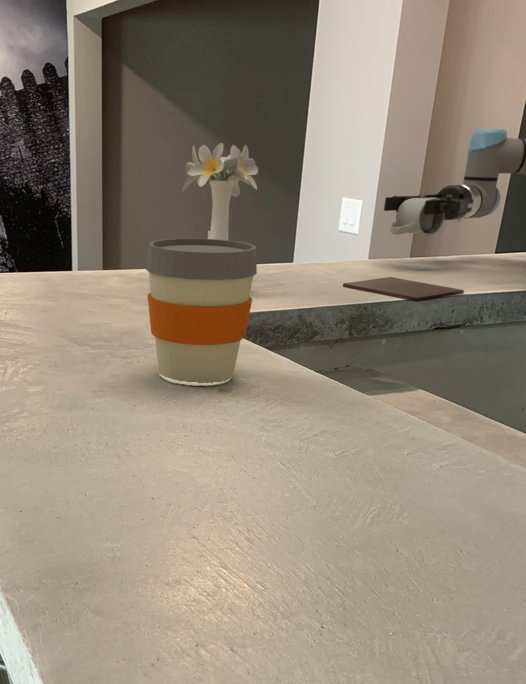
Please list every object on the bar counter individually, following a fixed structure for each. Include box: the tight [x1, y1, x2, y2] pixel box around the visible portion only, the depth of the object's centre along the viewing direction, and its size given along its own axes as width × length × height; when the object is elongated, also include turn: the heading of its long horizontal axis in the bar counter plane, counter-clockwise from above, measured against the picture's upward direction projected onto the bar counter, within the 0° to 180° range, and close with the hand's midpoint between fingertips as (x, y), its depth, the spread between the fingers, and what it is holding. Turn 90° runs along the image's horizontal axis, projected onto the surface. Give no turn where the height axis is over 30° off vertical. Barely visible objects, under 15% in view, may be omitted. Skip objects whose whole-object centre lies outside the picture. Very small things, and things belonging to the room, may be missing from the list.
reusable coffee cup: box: [145, 237, 258, 387], centre depth 89 cm, size 12×13×15 cm
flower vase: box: [181, 142, 259, 240], centre depth 137 cm, size 13×18×25 cm
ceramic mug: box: [389, 198, 445, 237], centre depth 168 cm, size 11×8×8 cm
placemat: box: [342, 276, 465, 302], centre depth 148 cm, size 17×15×1 cm
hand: (406, 205), depth 164 cm, fingers closed on ceramic mug, 9 cm apart
